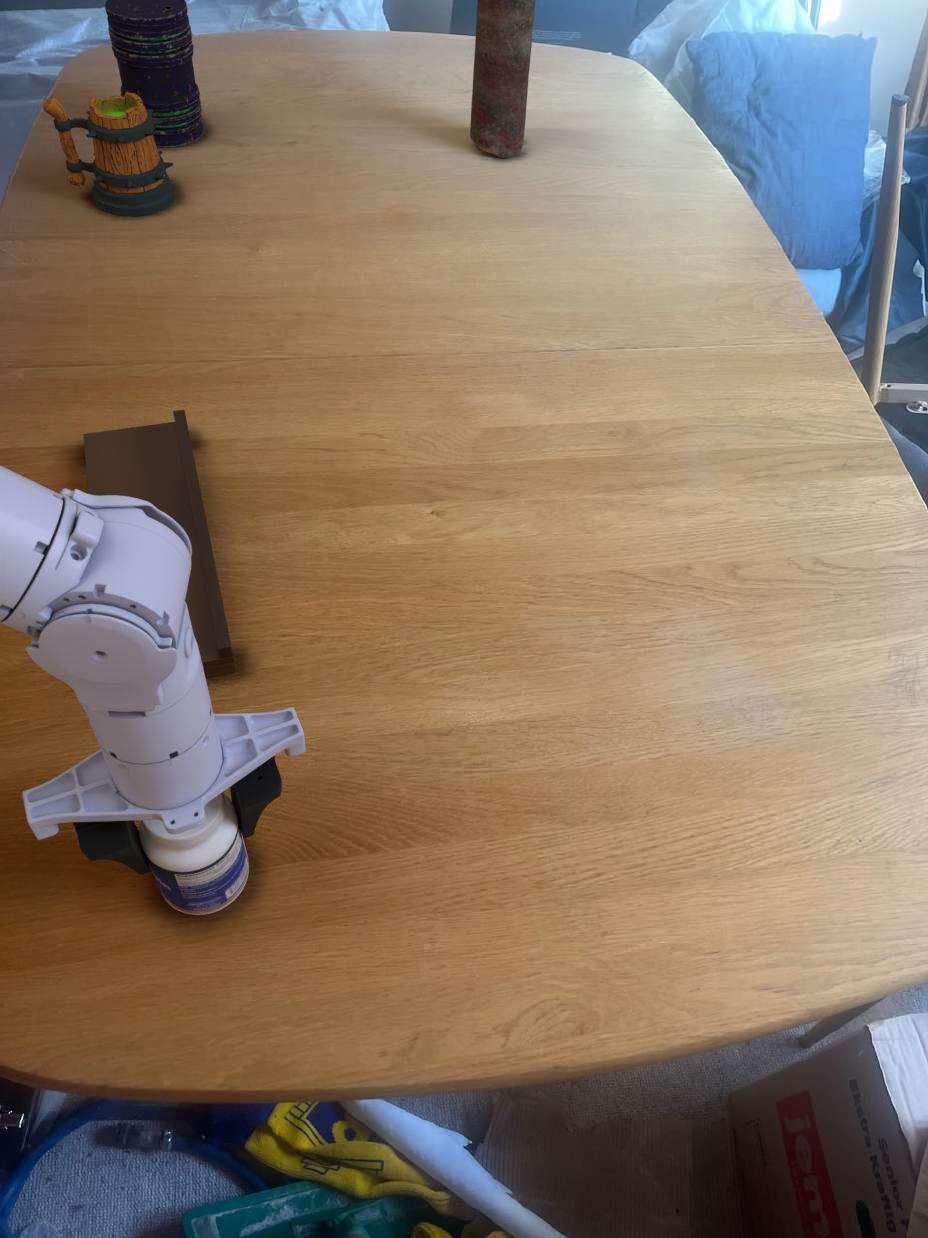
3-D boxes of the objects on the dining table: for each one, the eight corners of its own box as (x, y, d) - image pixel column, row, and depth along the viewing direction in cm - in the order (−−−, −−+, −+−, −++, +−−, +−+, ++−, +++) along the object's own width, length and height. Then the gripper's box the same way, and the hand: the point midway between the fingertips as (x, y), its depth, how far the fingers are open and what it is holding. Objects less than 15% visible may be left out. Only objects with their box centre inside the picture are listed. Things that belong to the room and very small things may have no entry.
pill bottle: (150, 852, 63) (119, 774, 55) (237, 823, 64) (218, 744, 57) (170, 932, 59) (140, 861, 52) (260, 900, 61) (244, 826, 54)
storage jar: (114, 139, 125) (88, 11, 114) (147, 109, 131) (125, -16, 120) (187, 152, 124) (167, 24, 113) (216, 121, 130) (200, -4, 119)
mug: (176, 174, 120) (160, 75, 112) (180, 215, 114) (163, 114, 105) (67, 178, 118) (41, 78, 109) (64, 220, 112) (37, 117, 103)
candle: (459, 150, 130) (469, -20, 115) (479, 129, 134) (492, -37, 119) (511, 163, 128) (529, -7, 113) (530, 142, 133) (549, -24, 118)
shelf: (112, 697, 70) (102, 671, 68) (88, 450, 87) (79, 422, 84) (236, 672, 72) (231, 646, 70) (189, 436, 89) (184, 409, 87)
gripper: (10, 833, 43) (81, 946, 54) (318, 733, 48) (328, 855, 58) (-10, 712, 47) (59, 839, 58) (276, 630, 52) (292, 762, 62)
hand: (193, 841), depth 58 cm, fingers closed on pill bottle, 5 cm apart
